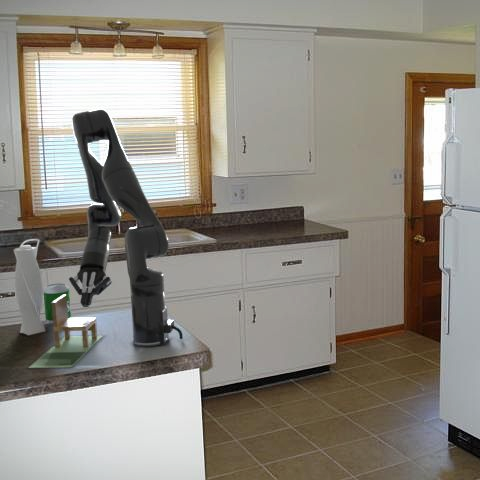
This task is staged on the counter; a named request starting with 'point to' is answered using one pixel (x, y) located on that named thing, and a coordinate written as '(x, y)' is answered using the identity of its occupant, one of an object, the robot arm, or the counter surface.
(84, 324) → the chair
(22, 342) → the counter surface
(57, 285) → the soda can
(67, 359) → the mat
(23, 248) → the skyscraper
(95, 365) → the counter surface
